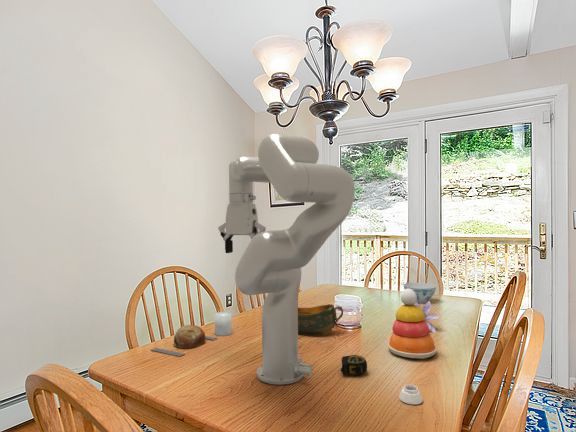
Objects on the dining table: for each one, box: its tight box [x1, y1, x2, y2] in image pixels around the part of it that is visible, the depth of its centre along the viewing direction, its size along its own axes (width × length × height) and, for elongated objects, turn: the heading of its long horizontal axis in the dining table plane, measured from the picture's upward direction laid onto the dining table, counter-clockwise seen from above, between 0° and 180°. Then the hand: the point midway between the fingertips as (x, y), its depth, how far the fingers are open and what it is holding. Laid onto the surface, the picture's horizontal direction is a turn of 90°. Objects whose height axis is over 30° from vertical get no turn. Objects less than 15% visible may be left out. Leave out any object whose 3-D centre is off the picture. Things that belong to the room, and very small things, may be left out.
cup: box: [214, 311, 233, 337], centre depth 131 cm, size 6×6×7 cm
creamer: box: [298, 303, 344, 337], centre depth 131 cm, size 13×20×10 cm, turn 50°
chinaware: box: [403, 282, 437, 304], centre depth 178 cm, size 15×15×8 cm
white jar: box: [398, 384, 424, 406], centre depth 82 cm, size 5×3×5 cm
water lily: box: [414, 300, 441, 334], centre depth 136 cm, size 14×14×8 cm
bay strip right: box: [205, 335, 218, 342], centre depth 127 cm, size 12×2×1 cm, turn 63°
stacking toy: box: [387, 289, 438, 360], centre depth 111 cm, size 14×14×20 cm
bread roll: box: [173, 324, 206, 350], centre depth 121 cm, size 10×10×8 cm
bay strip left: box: [150, 347, 185, 358], centre depth 113 cm, size 12×2×1 cm, turn 63°
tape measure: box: [340, 354, 368, 376], centre depth 97 cm, size 7×7×4 cm
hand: (241, 253), depth 116 cm, fingers open, 9 cm apart
